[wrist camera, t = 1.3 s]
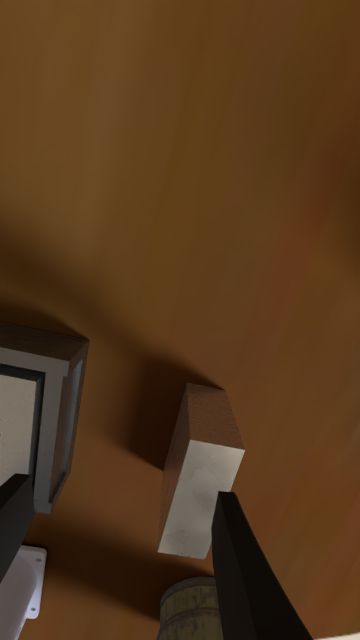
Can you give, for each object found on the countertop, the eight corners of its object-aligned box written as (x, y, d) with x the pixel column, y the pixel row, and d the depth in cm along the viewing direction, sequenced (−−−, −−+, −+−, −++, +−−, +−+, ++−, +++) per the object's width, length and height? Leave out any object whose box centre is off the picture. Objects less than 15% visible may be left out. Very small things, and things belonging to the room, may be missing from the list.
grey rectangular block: (197, 476, 22) (204, 559, 16) (163, 470, 22) (157, 552, 16) (225, 389, 20) (244, 449, 14) (186, 381, 19) (190, 439, 14)
